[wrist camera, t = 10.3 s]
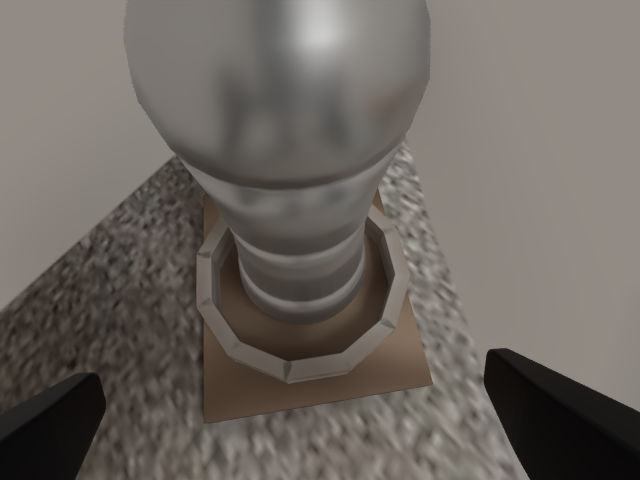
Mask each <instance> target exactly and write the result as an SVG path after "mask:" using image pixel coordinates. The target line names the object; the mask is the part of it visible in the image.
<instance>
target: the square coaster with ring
mask: <svg viewBox="0 0 640 480" xmlns="http://www.w3.org/2000/svg"><path fill="white" fill-rule="evenodd" d="M363 242H364V246H365V256H366V268H365V276H364V280H363V283H362V286H361V289H360V290H359V292H358V293H357V295H356V297H355V298H354V300H353V301H352V302H351V303H350V304H349V305H348V306H347V307H346V308H345V309H344V310H342V311H341V312H340V313H338V314H337V315H335V316H334V317H333V318H331V319H328V320H326V321H324V322H321V323H317V324H313V325H293V324H287V323H284V322H282V321H279V320H276V319H275V318H273V317H271V316H269V315H268V314H266V313H265V312H263V311H261V310H260V309H259V308H258V307H257V306H256V305H255V304H254V303H253V302H252V301H251V299H250V298H249V296H248V295H247V293H246V291H245V289H244V286H243V284H242V280H241V275H240V269H239V262H238V255H239V253H238V250H237V246H236V243H235V239H234V236H233V233H232V232H231V230H230V228H229V227H228V224H227V223H226V221H225V220H224V218H223V216H222V215H221V213H220V211H219V210H218V208H217V206H216V205H215V203H214V201H213V200H212V199H211V198H210V196H209V195H204V243H203V245H202V246H201V248H200V249H199V251H198V253H197V254H196V255H197V281H196V308H197V309H198V311H199V312H200V314H201V315H202V317H203V318H204V423H214V422H220V421H226V420H231V419H237V418H243V417H249V416H255V415H261V414H266V413H272V412H278V411H284V410H290V409H295V408H301V407H307V406H313V405H319V404H325V403H330V402H336V401H342V400H348V399H354V398H360V397H365V396H371V395H377V394H383V393H389V392H395V391H400V390H406V389H412V388H418V387H424V386H428V385H432V384H433V382H432V378H431V375H430V371H429V368H428V364H427V361H426V357H425V354H424V350H423V346H422V343H421V339H420V336H419V332H418V329H417V325H416V322H415V318H414V315H413V311H412V307H411V304H410V300H409V297H408V293H407V286H408V283H409V279H410V277H411V275H410V272H409V269H408V265H407V262H406V259H405V255H404V252H403V248H402V245H401V242H400V238H399V235H398V231H397V227H396V226H395V225H394V224H393V223H392V222H391V221H389V220H388V219H387V218H386V215H385V212H384V208H383V205H382V201H381V198H380V194H379V191H378V188H377V190H376V193H375V196H374V199H373V201H372V204H371V207H370V209H369V213H368V216H367V218H366V221H365V229H364V241H363Z"/></svg>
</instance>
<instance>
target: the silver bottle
mask: <svg viewBox="0 0 640 480" xmlns="http://www.w3.org/2000/svg"><path fill="white" fill-rule="evenodd" d="M124 44H125V49H126V54H127V59H128V64H129V69H130V74H131V79H132V84H133V87H134V90H135V93H136V96H137V99H138V102H139V103H140V105H141V106H142V108H143V109H144V111H145V112H146V114H147V115H148V116H149V118H150V120H151V121H152V123H153V124H154V126H155V127H156V129H157V130H158V132H159V133H160V135H161V136H162V138H163V139H164V140H165V141H166V143H167V145H168V146H169V147H170V149H171V150H172V151H174V153H175V154H176V155H177V157H178V158H179V159H180V161H181V162H182V163H183V164H184V166H185V167H186V168H187V169H188V170H189V172H190V173H191V174H192V175H193V177H194V178H195V179H196V180H197V182H198V183H199V184H200V185H201V186H202V188H203V189H204V190H205V191H206V193H207V194H208V195H209V196H210V198H211V199H212V200H213V201H214V203H215V205H216V206H217V208H218V210H219V211H220V213H221V215H222V216H223V218H224V220H225V221H226V223H227V224H228V227H229V228H230V230H231V232H232V233H233V236H234V239H235V243H236V246H237V250H238V253H239V255H238V262H239V269H240V275H241V280H242V284H243V286H244V289H245V291H246V293H247V295H248V296H249V298H250V299H251V301H252V302H253V303H254V304H255V305H256V306H257V307H258V308H259V309H260V310H261V311H263V312H265V313H266V314H268V315H269V316H271V317H273V318H275V319H276V320H279V321H282V322H284V323H287V324H293V325H313V324H317V323H321V322H324V321H326V320H328V319H331V318H333V317H334V316H335V315H337V314H338V313H340V312H341V311H342V310H344V309H345V308H346V307H347V306H348V305H349V304H350V303H351V302H352V301H353V300H354V298H355V297H356V295H357V293H358V292H359V290H360V289H361V286H362V283H363V280H364V276H365V268H366V256H365V246H364V242H363V241H364V229H365V221H366V218H367V216H368V213H369V209H370V207H371V204H372V201H373V199H374V196H375V193H376V190H377V188H378V186H379V184H380V182H381V181H382V179H383V177H384V175H385V173H386V171H387V169H388V167H389V166H390V164H391V162H392V160H393V158H394V156H395V154H396V153H397V151H398V149H399V147H400V145H401V143H402V141H403V139H404V137H405V135H406V133H407V131H408V130H409V129H410V126H411V124H412V122H413V119H414V116H415V114H416V112H417V109H418V107H419V105H420V103H421V100H422V98H423V95H424V93H425V90H426V87H427V84H428V82H429V78H430V16H429V13H428V8H427V5H426V1H425V0H127V4H126V11H125V18H124Z"/></svg>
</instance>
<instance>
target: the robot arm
mask: <svg viewBox="0 0 640 480" xmlns="http://www.w3.org/2000/svg"><path fill="white" fill-rule="evenodd" d="M484 385H485V389H486V391H487V393H488V395H489V398H490V400H491V402H492V404H493V406H494V409H495V411H496V413H497V415H498V417H499V419H500V422H501V424H502V426H503V428H504V430H505V433H506V435H507V437H508V439H509V441H510V443H511V445H512V447H513V449H514V451H515V454H516V455H517V457H518V459H519V461H520V463H521V465H522V466H523V468H524V470H525V472H526V473H527V475H528V477H529V478H530V480H640V412H638V411H637V410H635V409H633V408H630V407H628V406H626V405H624V404H622V403H620V402H618V401H616V400H614V399H612V398H610V397H608V396H605V395H603V394H601V393H599V392H597V391H595V390H593V389H591V388H589V387H587V386H585V385H583V384H580V383H578V382H576V381H574V380H572V379H570V378H568V377H566V376H564V375H562V374H559V373H558V372H555V371H553V370H551V369H549V368H547V367H545V366H543V365H541V364H539V363H537V362H535V361H533V360H530V359H528V358H526V357H524V356H522V355H520V354H518V353H516V352H514V351H512V350H510V349H507V348H499V349H490V350H489V351H488V352H487V355H486V363H485V371H484ZM105 410H106V399H105V396H104V392H103V389H102V385H101V381H100V378H99V376H98V375H97V374H96V373H78V374H75V375H73V376H71V377H69V378H67V379H65V380H63V381H61V382H60V383H58V384H56V385H54V386H52V387H50V388H48V389H47V390H45V391H43V392H41V393H39V394H37V395H36V396H34V397H32V398H30V399H28V400H26V401H24V402H23V403H21V404H19V405H17V406H15V407H13V408H11V409H10V410H8V411H6V412H4V413H2V414H0V480H75V479H76V476H77V474H78V472H79V470H80V468H81V466H82V463H83V461H84V459H85V456H86V454H87V452H88V450H89V447H90V445H91V443H92V441H93V438H94V436H95V434H96V432H97V429H98V427H99V425H100V423H101V420H102V418H103V416H104V413H105Z"/></svg>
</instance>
